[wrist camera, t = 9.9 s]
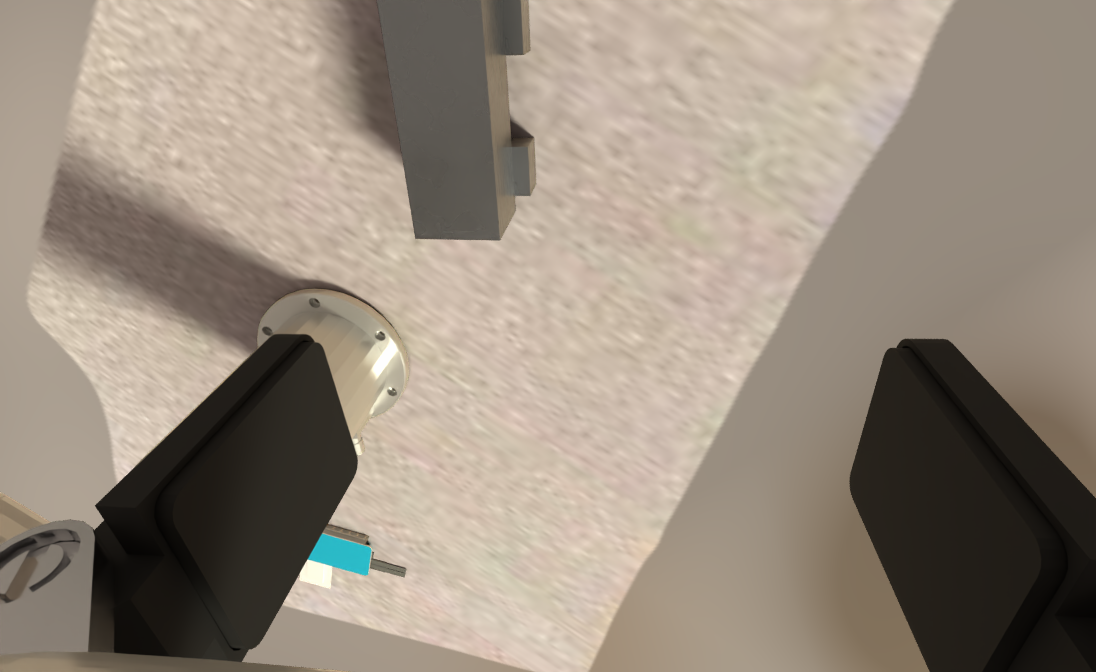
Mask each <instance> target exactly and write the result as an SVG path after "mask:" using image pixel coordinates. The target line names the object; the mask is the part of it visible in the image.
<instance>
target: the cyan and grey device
mask: <svg viewBox="0 0 1096 672" xmlns="http://www.w3.org/2000/svg"><path fill="white" fill-rule="evenodd" d="M368 538H369V536H367V535H363V534H359V533H356V532H352V531H348V530H345V529H343V528H342V529H341V528H338V527H335V526H331V525H328V524H327V526H326V528H325V529H324V531H323V533H322V535H321V537H320V538H319V540H318V542H317V544H316V545H315V547H314V549H313V551H312V552H311V554H310V556H309V558H308V560H307V561H306V563H305V565H304V567H303V568H302V570H301V572H300V580H301V581H304V582H308V583H311V584H315V585H319V586H322V587H326V588H329V589H330V587H331V575H332V567H336V568H339V569H343V570H347V571H350V572H354V573H357V574H361V575H365V576H366V575H368V574H369V569H370V568H371V569H375V570H378V571H382V572H387V573H390V574H394V575H397V576H401V577H405V572H406V569H404V568H400V567H397V566H393V565H390V564H387V563H386V562H383V561H379V560H376V559H373V553H374V552H372V548H371V547H370V546H369V543H367V545H365V544H366V542H367V541H368ZM387 568H389V569H387ZM391 569H393V570H391ZM394 570H396V571H394ZM398 571H400V572H398ZM401 572H403V573H401Z"/></svg>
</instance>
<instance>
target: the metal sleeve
mask: <svg viewBox="0 0 1096 672" xmlns="http://www.w3.org/2000/svg"><path fill="white" fill-rule="evenodd" d="M377 5H378V11H379V17H380V24H381V30H382V36H383V42H384V48H385V54H386V61H387V67H388V73H389V79H390V85H391V91H392V98H393V104H394V110H395V116H396V122H397V128H398V134H399V141H400V147H401V153H402V159H403V165H404V171H405V178H406V184H407V190H408V196H409V202H410V208H411V215H412V221H413V227H414V233H415V239H454V240H501V238H502V236H503V234H504V232H505V230H506V228H507V226H508V225H509V223H510V221H511V219H512V217H513V215H514V213H515V211H516V208H515V196H530V195H531V193H532V191H533V189H534V187H535V185H536V169H535V146H534V138H511V129H510V113H509V97H508V81H507V65H506V55H524V54H526V53H527V52H529V51H530V29H529V6H528V0H377Z"/></svg>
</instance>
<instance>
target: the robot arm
mask: <svg viewBox="0 0 1096 672" xmlns="http://www.w3.org/2000/svg"><path fill="white" fill-rule="evenodd" d="M257 344H258V348H257V349H256V350H255V351H254V352H253V353H252V354H251V355H250V356H249V357H248V358H247V359H246V360H245V361H243V362H242V363H241V364H240V365H239V366H238V367H237V368H236V369H235V370H234V371H233V372H232V373H231V374H230V375H229V376H228V377H227V378H226V379H225V380H224V381H223V382H222V383H221V384H220V385H219V386H217V387H216V388H215V389H214V390H213V391H212V392H211V393H210V394H209V395H208V396H207V397H206V398H205V399H204V400H203V401H202V402H201V403H200V404H199V405H198V406H197V407H196V408H195V409H194V410H192V411H191V412H190V413H189V414H188V415H187V416H186V417H185V418H184V419H183V420H182V421H181V422H180V423H179V424H178V425H177V426H176V427H175V428H174V429H173V430H172V431H171V432H170V433H169V434H167V435H166V436H165V437H164V438H163V439H162V440H161V441H160V442H159V443H158V444H157V445H156V446H155V447H154V448H153V449H152V450H151V451H150V452H149V453H148V454H147V455H146V456H145V457H144V458H143V459H142V460H141V461H140V462H139V463H138V464H137V465H136V466H135V467H134V469H132V470H131V471H130V472H129V473H128V474H127V475H126V476H125V477H124V478H123V479H122V480H121V481H120V482H119V483H118V484H117V485H116V486H115V487H114V488H113V489H112V490H111V491H110V492H109V493H108V494H107V495H105V497H103V498H102V499H101V500H100V501H99V502H98V503H97V504H96V505H95V506H96V508H97V510H98V511H99V513H100V514H101V515H102V517H103V519H104V521H103V522H102V523H101V524H100V525H99V526H98V527H97V528H96V529H95V530H94V529H93V528H92V527H91V526H89V525H88V524H87V523H85V522H84V521H77V520H63V521H55V522H49V521H48V520H46V519H44V518H43V517H41V516H39V515H38V514H36V513H35V512H33V511H31V510H30V509H28V508H26V507H25V506H23V505H22V504H20V503H18V502H17V501H15V500H13V499H12V498H10V497H8V496H6V495H5V494H3V493H2V492H0V672H350V671H338V670H326V669H315V668H304V667H292V666H281V665H269V664H257V663H245V662H242V660H243V658H244V657H245V655H246V653H247V652H248V650H249V649H253V648H255V647H256V646H257V645H258V644H259V643H260V642H261V640H262V639H263V637H264V636H265V634H266V632H267V630H268V629H269V627H270V625H271V623H272V621H273V620H274V618H275V616H276V614H277V613H278V611H279V609H280V607H281V606H282V604H283V602H284V600H285V598H286V597H287V595H288V593H289V591H290V590H291V588H292V586H293V584H294V583H295V581H296V579H297V577H298V575H299V574H300V572H301V570H302V568H303V567H304V565H305V563H306V561H307V560H308V558H309V556H310V554H311V552H312V551H313V549H314V547H315V545H316V544H317V542H318V540H319V538H320V537H321V535H322V533H323V531H324V529H325V528H326V526H327V524H328V522H329V521H330V519H331V517H332V515H333V513H334V512H335V510H336V508H337V506H338V505H339V503H340V501H341V499H342V498H343V496H344V494H345V492H346V490H347V489H348V487H349V485H350V483H351V482H352V480H353V478H354V476H355V474H356V470H357V464H358V460H357V456H359V455H361V454H362V453H363V452H364V451H365V446H364V442H363V439H362V437H361V432H362V430H363V429H364V427H365V425H366V424H367V422H368V421H369V419H371V418H375V417H377V416H379V415H382V414H384V413H386V412H387V411H388V410H389V409H391V408H392V407H393V406H394V405H395V404H396V403H397V401H398V400H399V399H400V397H401V395H402V393H403V392H404V390H405V388H406V385H407V381H408V378H409V363H408V358H407V353H406V351H405V348H404V346H403V343H402V341H401V339H400V338H399V336H398V335H397V333H396V331H395V330H394V328H393V327H392V326H391V325H390V324H389V323H388V322H387V321H386V320H385V318H384V317H382V316H381V315H380V314H379V313H378V312H376V311H375V310H374V309H373V308H371V307H370V306H368V305H367V304H365V303H363V302H362V301H360V300H358V299H356V298H354V297H351V296H349V295H346V294H344V293H340V292H336V291H332V290H327V289H304V290H299V291H296V292H292V293H289V294H287V295H286V296H284V297H282V298H281V299H279V300H278V301H277V302H275V303H274V304H273V305H272V306H271V307H270V308H269V309H268V310H267V311H266V313H265V314H264V316H263V317H262V319H261V321H260V324H259V327H258V334H257ZM850 491H851V495H852V498H853V500H854V503H855V505H856V507H857V509H858V512H859V514H860V516H861V518H862V521H863V523H864V525H865V527H866V530H867V532H868V534H869V536H870V539H871V541H872V543H873V545H874V548H875V550H876V552H877V554H878V556H879V559H880V561H881V563H882V566H883V568H884V570H885V572H886V574H887V577H888V579H889V581H890V584H891V586H892V588H893V590H894V592H895V595H896V597H897V599H898V602H899V604H900V606H901V608H902V611H903V613H904V615H905V617H906V620H907V622H908V624H909V626H910V629H911V631H912V633H913V635H914V638H915V640H916V642H917V644H918V646H919V649H920V651H921V653H922V656H923V658H924V660H925V662H926V665H927V667H928V669H929V671H930V672H1096V498H1095V497H1094V496H1093V495H1092V494H1091V493H1090V492H1089V490H1087V488H1086V487H1085V486H1084V485H1083V484H1082V483H1081V482H1080V481H1079V480H1078V479H1077V478H1076V476H1075V475H1074V474H1073V473H1072V472H1071V471H1070V470H1069V469H1068V468H1067V467H1066V466H1065V465H1064V464H1063V463H1062V461H1060V459H1059V458H1058V457H1057V456H1056V455H1055V454H1054V453H1053V452H1052V451H1051V449H1050V448H1049V447H1048V446H1047V445H1046V444H1045V443H1044V442H1043V441H1042V440H1041V439H1040V438H1039V437H1038V435H1037V434H1036V433H1035V432H1034V431H1033V430H1032V429H1031V428H1030V427H1029V426H1028V425H1027V424H1026V423H1025V422H1024V420H1023V419H1022V418H1021V417H1020V416H1019V415H1018V414H1017V413H1016V412H1015V411H1014V410H1013V408H1012V407H1011V406H1010V405H1009V404H1008V403H1007V402H1006V401H1005V400H1004V399H1003V398H1002V397H1001V395H1000V394H998V392H997V391H996V390H995V389H994V388H993V387H992V386H991V385H990V384H989V382H987V380H986V379H985V378H984V377H983V376H982V375H981V374H980V373H979V372H978V371H977V370H976V369H975V367H974V366H973V365H972V364H971V363H970V362H969V361H968V360H967V359H966V358H965V357H964V355H963V354H962V353H961V352H960V351H959V350H958V349H957V348H956V347H955V346H954V345H953V344H952V343H951V342H950V341H948V340H946V339H904V340H902V341H901V342H900V343H899V344H898V346H897V348H890V349H888V350H887V351H886V353H885V355H884V358H883V361H882V365H881V368H880V372H879V375H878V379H877V382H876V386H875V389H874V393H873V397H872V400H871V403H870V407H869V410H868V414H867V417H866V421H865V424H864V428H863V431H862V435H861V438H860V442H859V445H858V449H857V453H856V456H855V460H854V463H853V467H852V470H851V475H850Z"/></svg>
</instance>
